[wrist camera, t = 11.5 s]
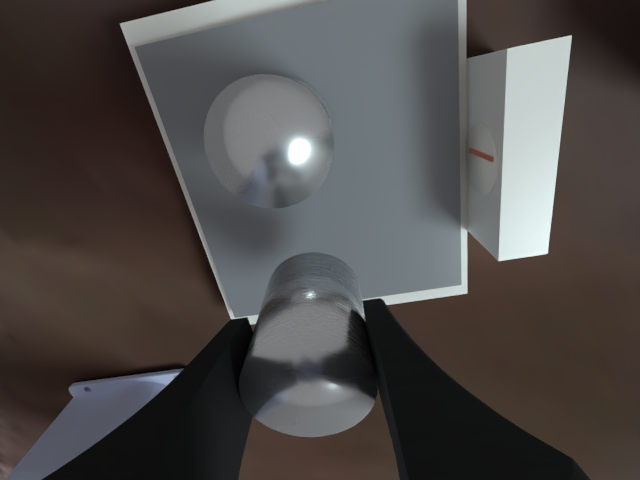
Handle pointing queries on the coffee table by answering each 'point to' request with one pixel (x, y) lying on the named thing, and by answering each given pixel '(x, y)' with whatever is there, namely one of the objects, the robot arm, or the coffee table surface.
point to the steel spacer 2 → (310, 350)
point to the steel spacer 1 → (269, 140)
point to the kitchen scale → (365, 138)
